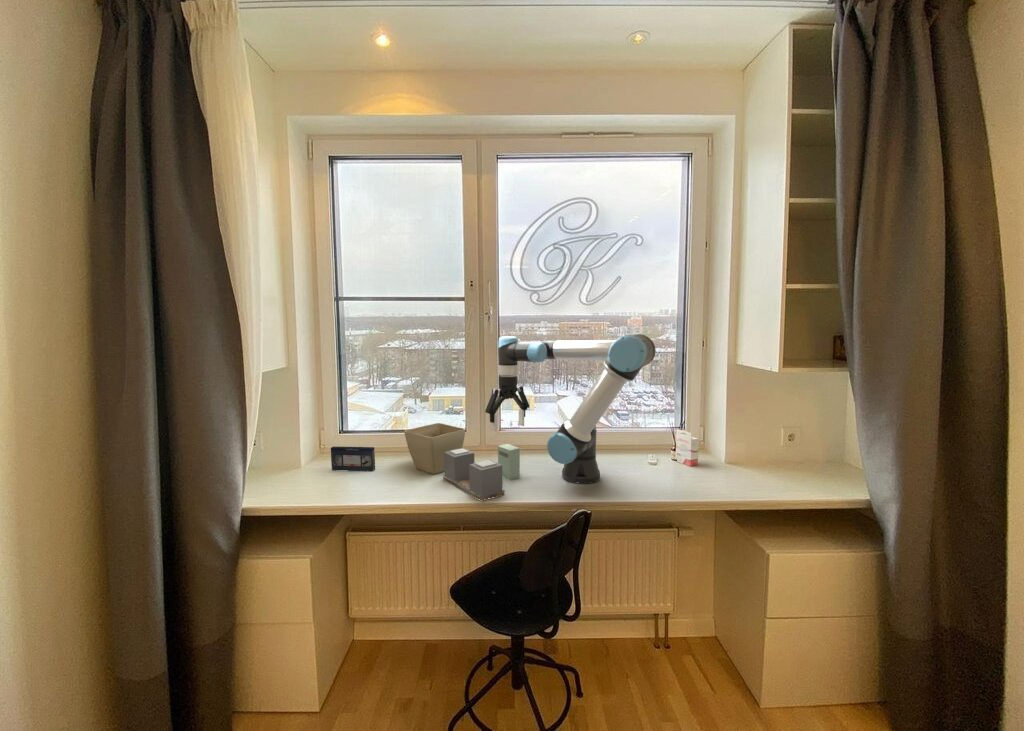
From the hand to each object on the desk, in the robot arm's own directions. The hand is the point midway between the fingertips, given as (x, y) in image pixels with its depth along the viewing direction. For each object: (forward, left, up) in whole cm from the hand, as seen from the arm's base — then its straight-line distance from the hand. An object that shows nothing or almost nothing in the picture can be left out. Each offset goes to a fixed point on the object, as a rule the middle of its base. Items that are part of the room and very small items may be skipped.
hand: (508, 427), depth 181 cm
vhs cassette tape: (+48, -46, -20) cm, 69 cm away
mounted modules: (+18, +1, -19) cm, 26 cm away
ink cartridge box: (-71, +35, -20) cm, 82 cm away
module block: (0, 0, -20) cm, 20 cm away
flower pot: (+19, -27, -20) cm, 38 cm away
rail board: (+18, +1, -20) cm, 27 cm away
